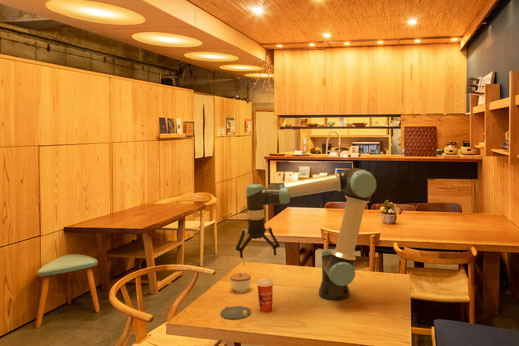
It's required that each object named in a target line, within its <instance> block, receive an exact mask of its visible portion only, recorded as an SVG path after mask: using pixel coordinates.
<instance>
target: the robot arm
mask: <svg viewBox="0 0 519 346" xmlns="http://www.w3.org/2000/svg"><path fill="white" fill-rule="evenodd" d="M376 189H377V180H376V178H375V176H374V175H373V174H372V173H371V172H370V171H368V170H366V169H361V168H360V167H359V168H358V167H354V168H349V169H345V170H341V171H340V170H339V171H336V172H334V174H329V175H324V176H317V177H310V178H304V179H298V180H291V181H286V182H279V183H275V182H273V183H269V184H268V185H267V186H266V188H264V186H263V185H262V184H258V183H257V184H255V183H254V184H253V183H252V184H249V185H247V186H246V191H245V192H246V206H247V207H246V209H247V218H248V220H247V229H244V228H243V229H241V234H240V237H239V239H238V242H237V244H236V246H235V250H236V251H238V252H239V258H240V259H242V265H243V266H244V267H245V266H246V261H245V260H246V258H245V257H246V256H245V248H246V247H247V245H249V243H250V242H251V241H252V240H253V239H254V240H257V239H262V238H263V239H264V240H265V241H266V242H267V243H268V244H269V245H270V246H271V248H270V249H271V263H272V264H275V256H276V255H277V248H280V246H281V245H280V242H278V239H276V238H277V237H276V236H275V235H274V232H273V228H272V227H271V226H269V227H266V226H265V225H266V224H265V210H264V209H265V207H264V206H269V205H285V204H289V203H290V199H291V198H293V197H299V196H306V195H313V194H319V193H320V194H321V193H325V192H331V191H338V192H344V191H345V192H344V197H345V198H346V202H345V208H344V212H343V215H342V221H341V225H340V228H339V233H338V236H337V241H336V246H335V248H327V249H323V250H322V251H321V277H322V278H321V283H320V285H319V289H318V296H319V297H321V298H323V299H324V300H329V301H341V300H345V299H348V298H349V297H350V296H351V291H350V288H349V285H350V284H351V283H352V282H353V281H354V279H355V277H356V269H355V264H356V259H357V258H356V256H355V250H356V246H357V241H358V237H359V233H360V229H361V224H362V220H363V218H364V217H363V216H364V212H365V208H366V205H367V204H368V203H370V202H371V197H372V195H373V194H374V193H375V192H376ZM266 232H267V233H268V234H269V235H270V236H271V238H272V240H273V242H272V241H271V240H270V239H269V238H268V237H267V235H266ZM247 233H248V234H249V235H248V236H247V238H246V239H245V241H244V242H243V240H244V238H245V236H246V235H247ZM274 243H275V244H274Z"/></svg>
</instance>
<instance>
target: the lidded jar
mask: <svg viewBox="0 0 519 346" xmlns="http://www.w3.org/2000/svg"><path fill="white" fill-rule="evenodd" d="M229 279H230V286H231V288H232V290H234V291H235V292H236V293H238V294H241V293H246V292H247V291H248V290H249V288H250V286H251V282H252V280H251V279H252V275H251V274H249V273H244V272H238V273H233V274H232V275H230V277H229Z"/></svg>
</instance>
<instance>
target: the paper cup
mask: <svg viewBox="0 0 519 346" xmlns="http://www.w3.org/2000/svg"><path fill="white" fill-rule="evenodd" d="M256 285H257V294H258V302H259V311H260V312H262V313H270V312H272V310H273V295H274V293H273V291H274V289H273V287H274V281H273V280H272V279H270V278H260V279H258V280H257V283H256Z"/></svg>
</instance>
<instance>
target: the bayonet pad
mask: <svg viewBox="0 0 519 346" xmlns="http://www.w3.org/2000/svg"><path fill="white" fill-rule="evenodd" d="M251 314H252V310H251V309H250V308H249V307H246V306H240V305H239V306H238V305H237V306H236V305H235V306H230V305H229V303H225V304H224V308H223V309H222V310H221V311H220V316H221V317H222V318H223V319H226V320H233V321H234V320H235V321H236V320H242V319H246V318H248V317H249V316H250V315H251Z"/></svg>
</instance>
